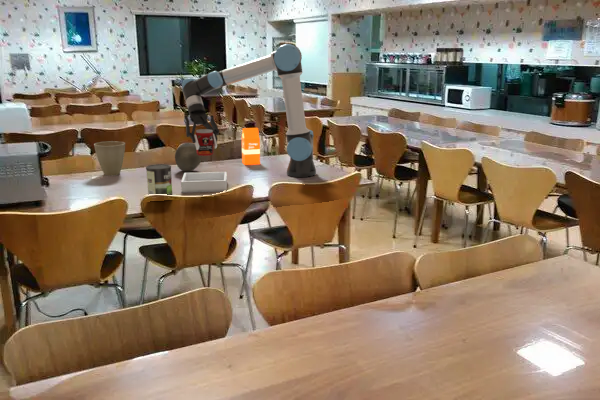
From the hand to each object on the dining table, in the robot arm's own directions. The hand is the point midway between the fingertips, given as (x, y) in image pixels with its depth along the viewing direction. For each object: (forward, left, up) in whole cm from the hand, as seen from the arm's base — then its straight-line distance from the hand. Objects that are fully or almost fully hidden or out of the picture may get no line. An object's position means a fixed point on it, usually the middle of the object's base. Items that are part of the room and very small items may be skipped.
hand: (207, 147), depth 241 cm
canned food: (+1, -3, -4) cm, 5 cm away
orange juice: (-21, -55, -19) cm, 62 cm away
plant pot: (+50, -34, -19) cm, 64 cm away
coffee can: (+20, +15, -19) cm, 32 cm away
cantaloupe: (+12, -37, -19) cm, 43 cm away
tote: (+2, -3, -19) cm, 20 cm away
